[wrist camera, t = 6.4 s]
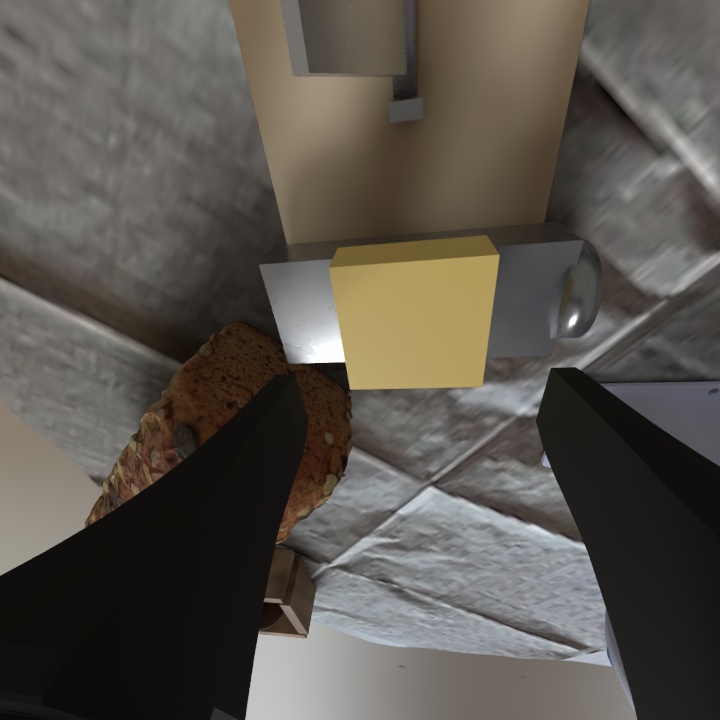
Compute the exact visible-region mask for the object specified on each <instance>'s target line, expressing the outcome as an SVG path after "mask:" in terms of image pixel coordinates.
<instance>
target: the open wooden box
mask: <svg viewBox="0 0 720 720" xmlns="http://www.w3.org/2000/svg"><path fill="white" fill-rule="evenodd" d="M294 556H295V554H294V551H293V550H289V549H275V550H274V555H273V559H272V564H271V569H270V573H269V578H268V583H267V589H266V594H265V599H264V602H271V603H280V604H279V605H280V607H281V608H282V610H283V611H284V613H283V615H282V617H281V618H280V619H279V621H278V622H277V623H276V624H275V625H274V626H272V627H271V628H269V629H267V630H264V631H260V632H258V634H264V635H275V636H276V635H277V636H287V637H297V638H307V634H308V632H309V626H310V621H311V615H312V609H313V604H314V598H315V592H316V588H315V586H314V584H313V582H312V579H311V577H310V575H309V573H308V571H307V569H306V567H305V565H304V563H303V560H302V558H301V557H294Z"/></svg>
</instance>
